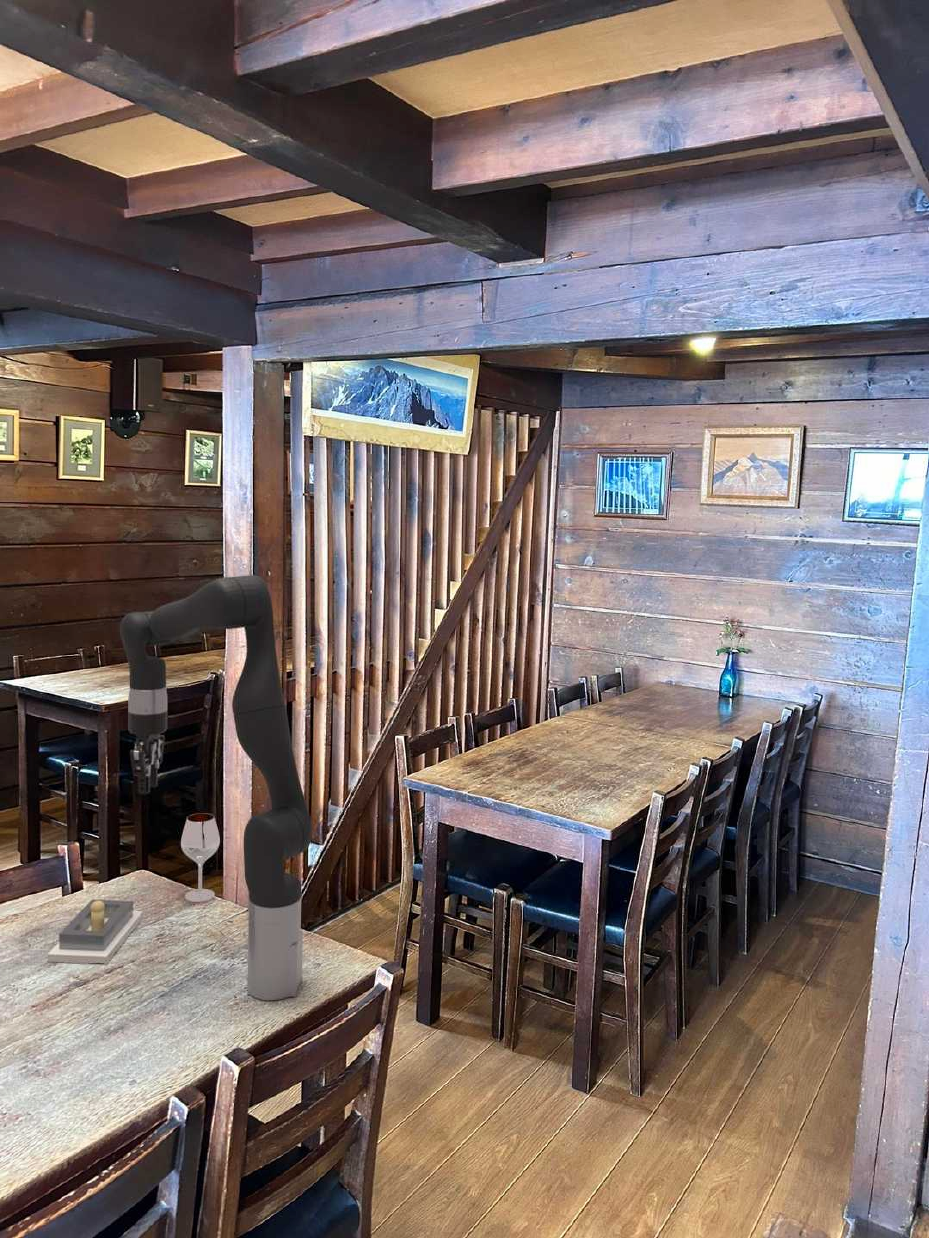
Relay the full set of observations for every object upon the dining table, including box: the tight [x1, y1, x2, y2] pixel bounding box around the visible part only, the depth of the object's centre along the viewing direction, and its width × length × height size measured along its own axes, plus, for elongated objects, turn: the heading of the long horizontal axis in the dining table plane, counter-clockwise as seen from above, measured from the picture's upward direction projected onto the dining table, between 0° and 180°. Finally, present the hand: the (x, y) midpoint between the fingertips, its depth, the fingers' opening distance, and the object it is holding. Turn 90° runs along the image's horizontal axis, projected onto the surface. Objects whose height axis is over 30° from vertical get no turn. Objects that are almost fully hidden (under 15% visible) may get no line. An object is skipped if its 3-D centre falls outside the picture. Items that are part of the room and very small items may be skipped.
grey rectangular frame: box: [58, 899, 134, 951], centre depth 176 cm, size 15×8×3 cm, turn 0°
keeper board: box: [47, 901, 144, 965], centre depth 176 cm, size 11×19×8 cm, turn 0°
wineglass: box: [180, 812, 221, 903], centre depth 197 cm, size 8×8×18 cm
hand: (147, 789), depth 184 cm, fingers open, 4 cm apart
